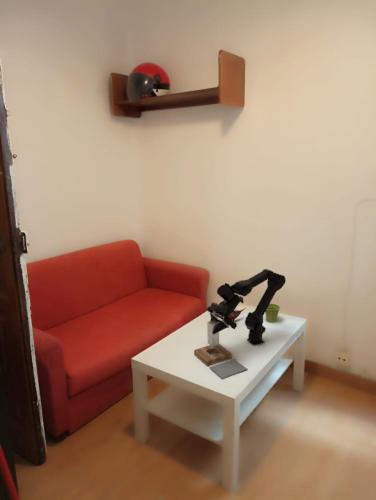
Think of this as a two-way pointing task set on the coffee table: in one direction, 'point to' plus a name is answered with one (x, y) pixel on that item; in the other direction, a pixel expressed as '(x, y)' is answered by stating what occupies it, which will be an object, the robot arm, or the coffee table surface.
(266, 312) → the plant pot
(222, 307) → the robot arm
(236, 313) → the decorative bird figurine
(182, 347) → the coffee table surface
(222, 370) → the grey mat
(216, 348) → the brown wooden frame
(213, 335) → the steel key bar
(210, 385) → the coffee table surface
